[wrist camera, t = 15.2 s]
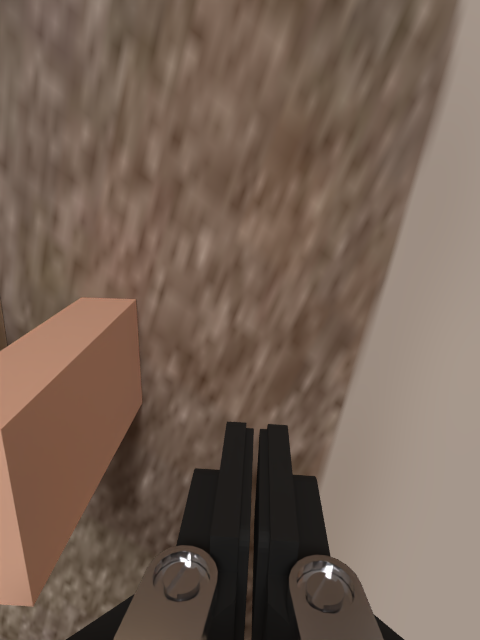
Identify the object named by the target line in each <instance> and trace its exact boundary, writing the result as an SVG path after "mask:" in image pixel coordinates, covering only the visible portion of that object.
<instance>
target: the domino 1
mask: <svg viewBox="0 0 480 640" xmlns="http://www.w3.org/2000/svg"><path fill="white" fill-rule="evenodd" d="M6 347H7V341H6V334H5V327H4V320H3V313H2V307H1V300H0V351H1V350H3V349H4V348H6Z"/></svg>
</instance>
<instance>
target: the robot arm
mask: <svg viewBox="0 0 480 640" xmlns="http://www.w3.org/2000/svg"><path fill="white" fill-rule="evenodd" d="M253 435H254V429H253V428H246V423H241V422H227V424H226V431H225V438H224V445H223V452H222V459H221V465H220V470H211V469H196V468H195V470H194V473H193V477H192V481H191V486H190V490H189V494H188V498H187V503H186V507H185V511H184V516H183V520H182V524H181V528H180V533H179V537H178V541H177V545H176V546H175V547H171V548H169V549H167V550H164V551H162V552H161V553H160V554H158V555H157V556H156V557H155V558H154V559H153V560H152V561H151V563H150V564H149V566H148V567H147V569H146V571H145V574H144V576H143V578H142V580H141V582H140V584H139V586H138V588H137V590H136V593H135V594H134V595H132V596H131V597H129V598H128V599H126V600H125V601H123V602H122V603H120V604H119V605H117V606H116V607H114V608H113V609H111V610H110V611H108V612H107V613H105V614H104V615H102V616H101V617H99V618H98V619H96V620H95V621H93V622H92V623H90V624H89V625H87V626H86V627H84V628H83V629H81V630H80V631H78V632H77V633H75V634H74V635H72V636H71V637H69V638H68V639H66V640H244V629H245V611H246V594H247V577H248V560H249V542H250V518H251V490H252V462H253ZM252 640H404V639H403V638H402V637H400V636H399V635H398V634H397V633H395V632H394V631H393V630H392V629H390V628H389V627H388V626H387V625H386V624H385V623H383V622H382V621H381V620H380V619H379V618H378V617H376V616H375V615H374V614H373V612H372V609H371V607H370V604H369V602H368V599H367V597H366V594H365V592H364V589H363V587H362V585H361V582H360V581H359V579H358V577H357V575H356V574H355V573H354V572H353V571H352V570H351V569H350V568H349V567H348V566H347V565H346V564H344V563H342V562H341V561H339V560H338V559H335V558H332V557H330V552H329V546H328V541H327V535H326V529H325V523H324V518H323V512H322V506H321V501H320V495H319V490H318V484H317V479H316V477H315V476H303V475H292V465H291V455H290V445H289V435H288V426H287V425H274V424H268V427H267V429H260V435H259V451H258V467H257V483H256V500H255V519H254V559H253V600H252Z"/></svg>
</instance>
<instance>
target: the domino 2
mask: <svg viewBox="0 0 480 640" xmlns="http://www.w3.org/2000/svg"><path fill="white" fill-rule="evenodd" d="M141 404H142V388H141V371H140V355H139V338H138V322H137V305H136V299H111V298H80V299H78V300H77V301H75V302H74V303H72V304H71V305H69V306H68V307H66V308H65V309H63V310H62V311H60V312H59V313H57V314H56V315H54V316H53V317H51V318H50V319H48V320H47V321H45V322H44V323H42V324H40V325H39V326H37V327H36V328H34V329H33V330H31V331H30V332H28V333H27V334H25V335H24V336H22V337H21V338H19V339H18V340H16V341H15V342H13V343H12V344H10V345H9V346H7V347H6V348H4V349H3V350H1V351H0V604H3V605H18V606H34V604H35V602H36V600H37V598H38V597H39V595H40V593H41V591H42V589H43V587H44V585H45V583H46V582H47V580H48V578H49V576H50V574H51V572H52V570H53V569H54V567H55V565H56V563H57V561H58V559H59V557H60V555H61V554H62V552H63V550H64V548H65V546H66V544H67V542H68V541H69V539H70V537H71V535H72V533H73V531H74V529H75V527H76V526H77V524H78V522H79V520H80V518H81V516H82V514H83V513H84V511H85V509H86V507H87V505H88V503H89V501H90V499H91V498H92V496H93V494H94V492H95V490H96V488H97V486H98V485H99V483H100V481H101V479H102V477H103V475H104V473H105V471H106V470H107V468H108V466H109V464H110V462H111V460H112V458H113V457H114V455H115V453H116V451H117V449H118V447H119V445H120V443H121V442H122V440H123V438H124V436H125V434H126V432H127V430H128V429H129V427H130V425H131V423H132V421H133V419H134V417H135V415H136V414H137V412H138V410H139V408H140V406H141Z"/></svg>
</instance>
